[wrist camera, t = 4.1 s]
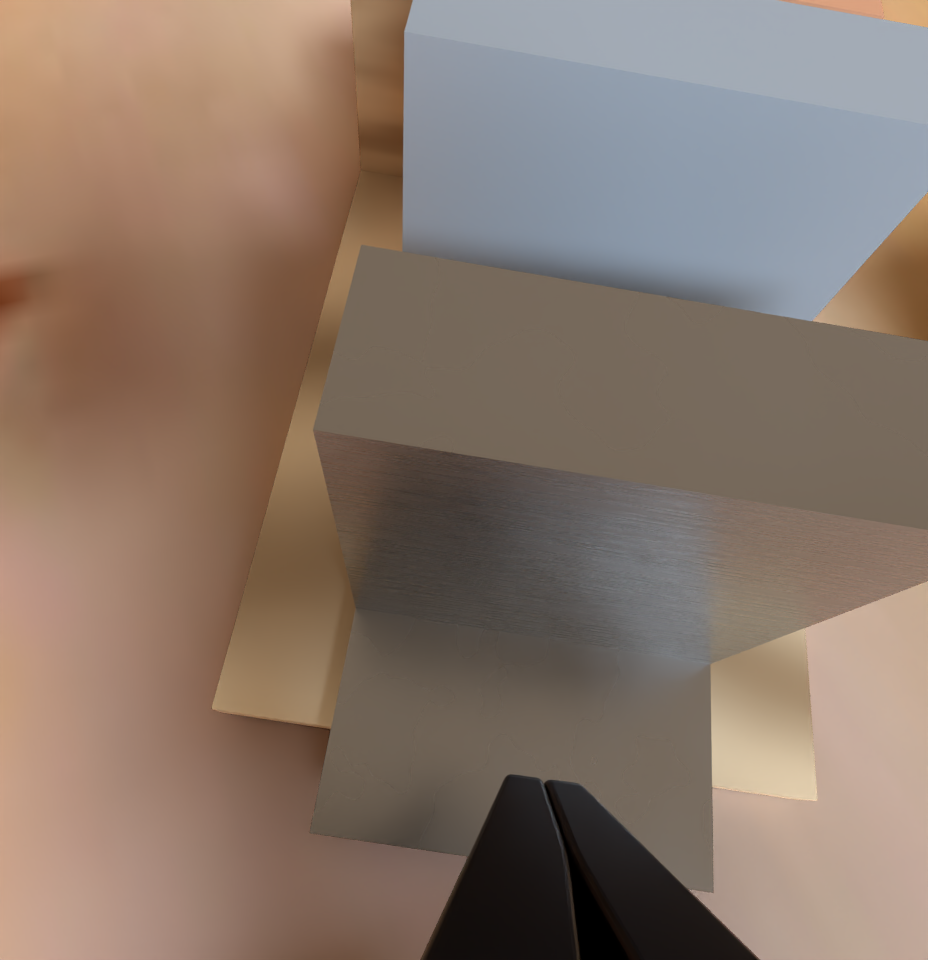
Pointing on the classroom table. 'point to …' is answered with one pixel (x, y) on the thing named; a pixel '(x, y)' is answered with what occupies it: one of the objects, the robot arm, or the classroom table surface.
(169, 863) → the classroom table surface
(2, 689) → the classroom table surface
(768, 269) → the blue book
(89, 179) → the classroom table surface
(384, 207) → the shelf
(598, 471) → the bookend
